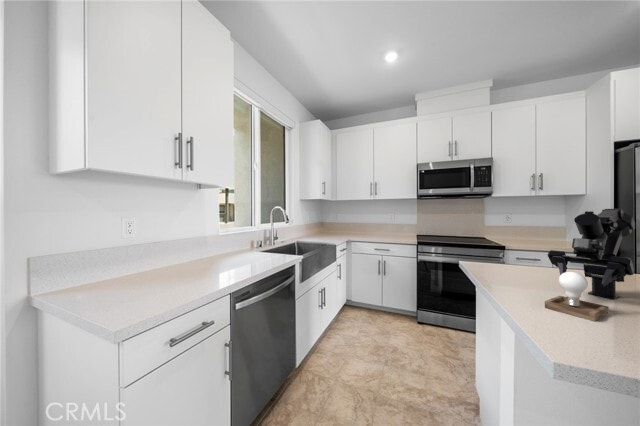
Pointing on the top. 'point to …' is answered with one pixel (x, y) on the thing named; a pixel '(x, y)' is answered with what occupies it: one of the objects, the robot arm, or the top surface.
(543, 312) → the top surface
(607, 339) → the top surface
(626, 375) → the top surface
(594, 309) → the walnut tray
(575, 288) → the lightbulb
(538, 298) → the top surface
